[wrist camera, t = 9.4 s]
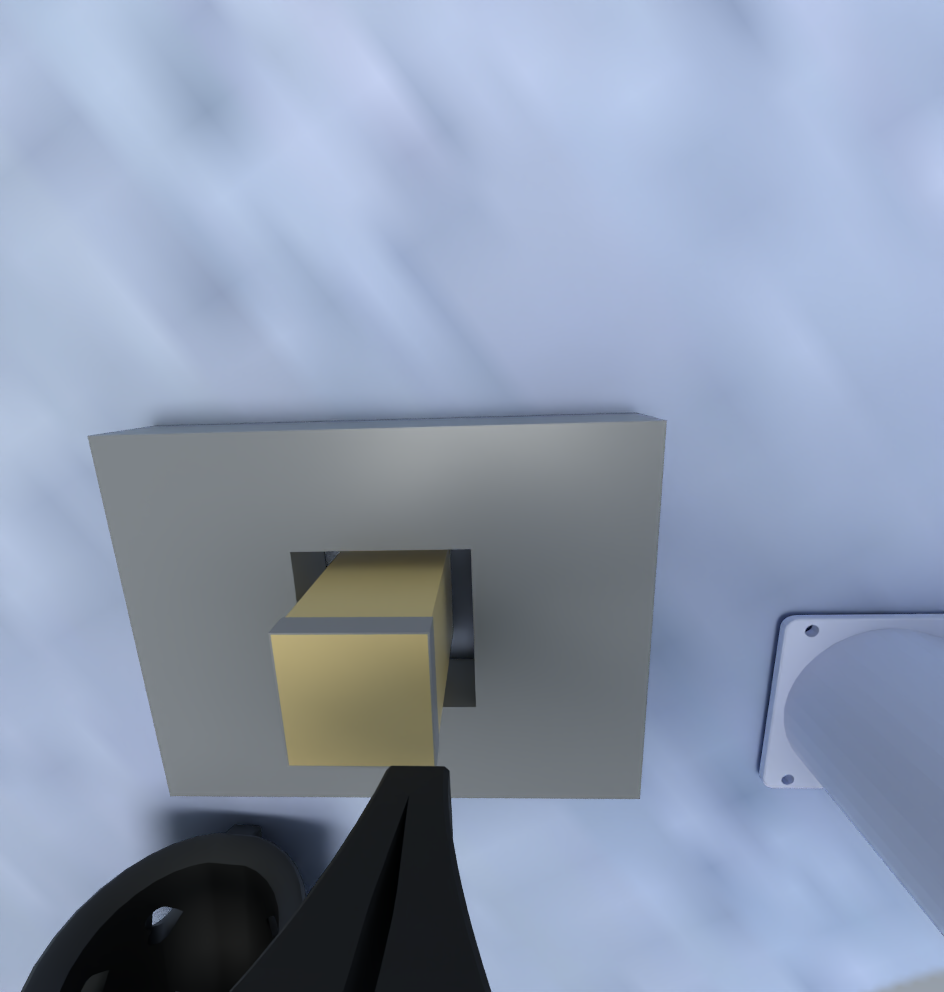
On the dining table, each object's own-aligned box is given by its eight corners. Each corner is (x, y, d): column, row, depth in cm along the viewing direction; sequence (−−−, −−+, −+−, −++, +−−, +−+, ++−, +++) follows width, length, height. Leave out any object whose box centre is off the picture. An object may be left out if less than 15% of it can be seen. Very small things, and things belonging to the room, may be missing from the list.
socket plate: (636, 413, 17) (666, 420, 14) (618, 739, 21) (639, 799, 18) (152, 425, 18) (87, 435, 15) (213, 738, 21) (170, 795, 18)
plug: (451, 538, 19) (429, 632, 12) (454, 632, 20) (436, 768, 13) (347, 539, 19) (268, 633, 12) (356, 632, 20) (287, 766, 13)
